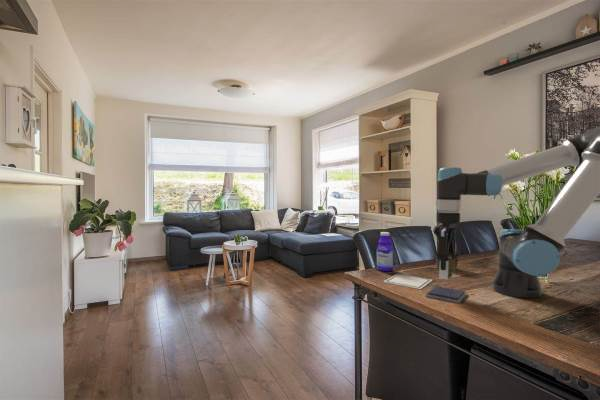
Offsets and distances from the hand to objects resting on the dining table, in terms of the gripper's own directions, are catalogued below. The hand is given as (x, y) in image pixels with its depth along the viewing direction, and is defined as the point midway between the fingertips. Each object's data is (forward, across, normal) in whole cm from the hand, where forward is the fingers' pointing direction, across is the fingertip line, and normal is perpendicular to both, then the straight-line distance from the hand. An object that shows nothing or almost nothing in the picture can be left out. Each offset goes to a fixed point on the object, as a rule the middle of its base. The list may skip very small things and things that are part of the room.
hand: (446, 276), depth 117 cm
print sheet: (+7, -9, -17) cm, 20 cm away
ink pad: (+7, 0, 0) cm, 7 cm away
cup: (0, 0, 0) cm, 1 cm away
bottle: (+7, -20, -32) cm, 38 cm away
